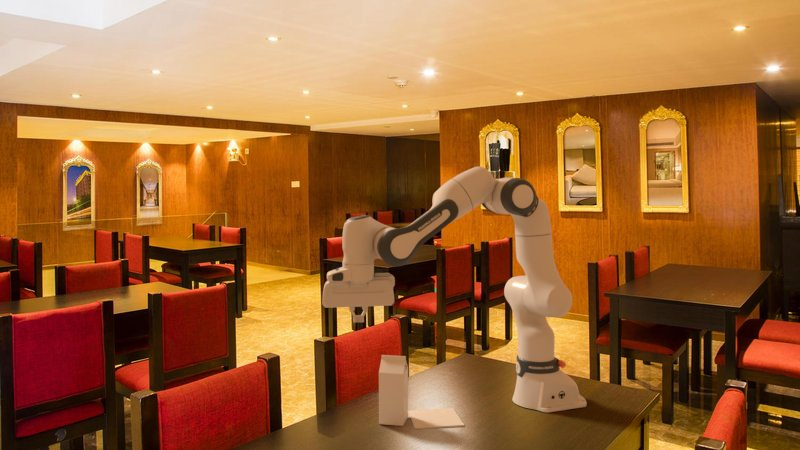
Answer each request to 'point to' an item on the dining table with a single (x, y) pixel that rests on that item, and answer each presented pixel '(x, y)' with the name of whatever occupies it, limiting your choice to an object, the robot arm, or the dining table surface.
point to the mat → (435, 418)
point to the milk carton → (393, 390)
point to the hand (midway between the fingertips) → (358, 322)
